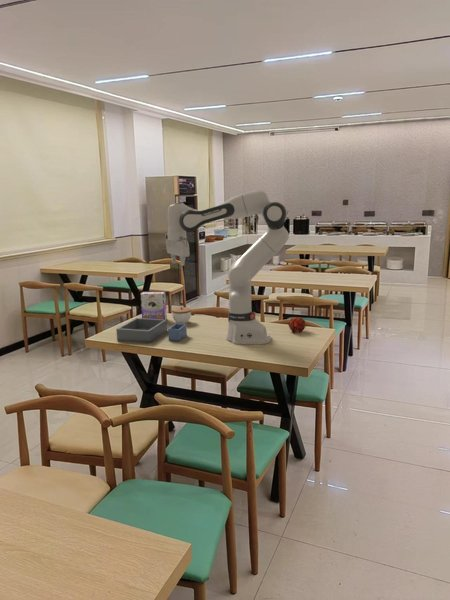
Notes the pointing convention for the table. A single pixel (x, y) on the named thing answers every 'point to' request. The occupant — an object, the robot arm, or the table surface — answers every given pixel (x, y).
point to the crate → (141, 330)
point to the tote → (177, 332)
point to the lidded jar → (181, 315)
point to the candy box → (153, 305)
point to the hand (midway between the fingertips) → (178, 264)
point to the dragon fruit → (297, 324)
